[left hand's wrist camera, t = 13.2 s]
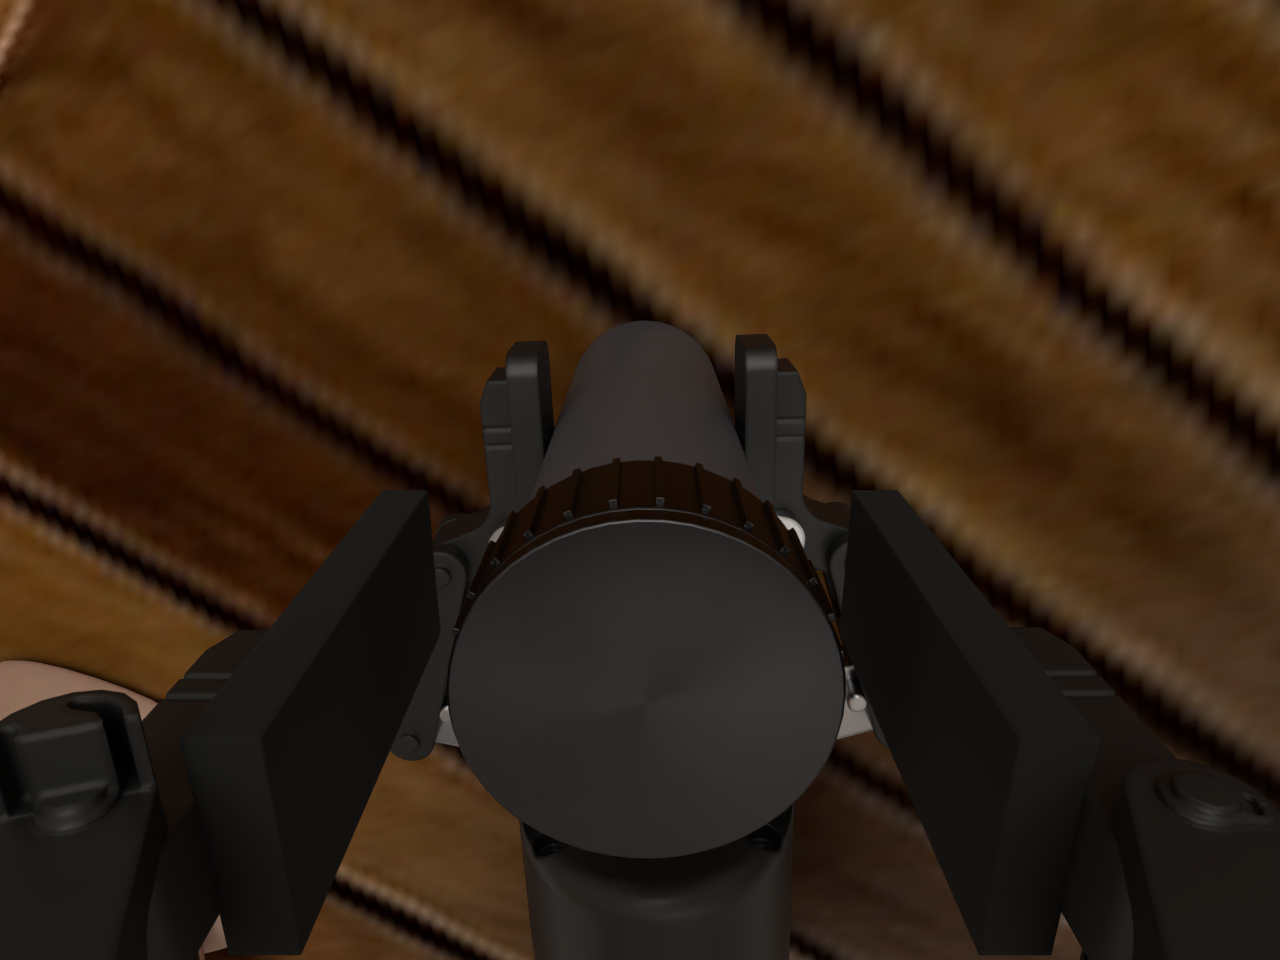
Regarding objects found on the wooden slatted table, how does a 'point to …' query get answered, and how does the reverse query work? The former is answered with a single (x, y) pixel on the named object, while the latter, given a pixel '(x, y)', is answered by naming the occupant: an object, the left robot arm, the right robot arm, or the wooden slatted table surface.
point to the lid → (646, 662)
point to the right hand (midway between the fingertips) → (639, 347)
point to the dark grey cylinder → (644, 407)
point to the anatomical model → (31, 682)
